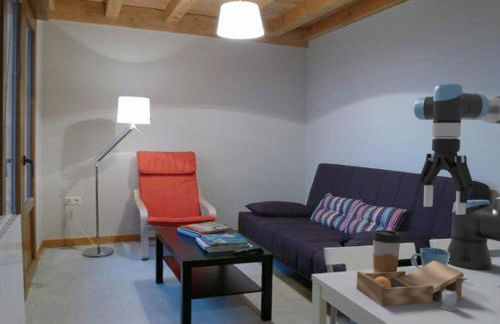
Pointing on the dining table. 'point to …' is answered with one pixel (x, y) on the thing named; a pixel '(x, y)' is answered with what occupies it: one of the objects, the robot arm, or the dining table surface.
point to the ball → (383, 281)
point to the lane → (411, 284)
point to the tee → (449, 300)
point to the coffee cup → (385, 250)
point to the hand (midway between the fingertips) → (443, 210)
